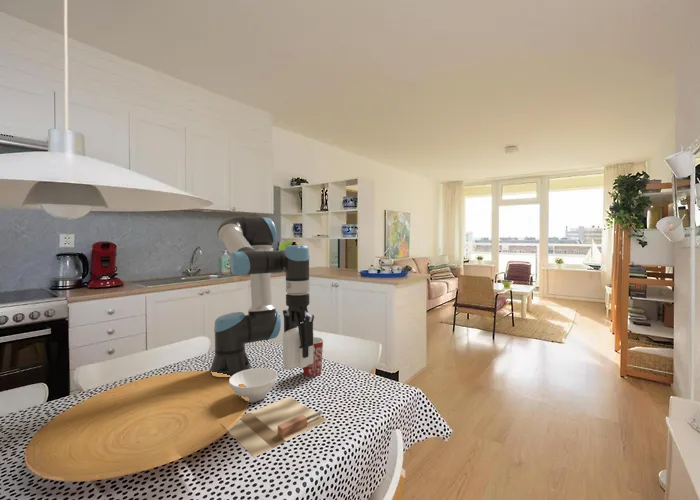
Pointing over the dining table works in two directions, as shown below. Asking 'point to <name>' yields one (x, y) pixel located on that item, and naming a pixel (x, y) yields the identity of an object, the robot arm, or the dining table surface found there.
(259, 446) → the light wooden cutting board
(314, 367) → the mug
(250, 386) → the bowl
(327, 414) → the dining table surface
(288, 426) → the awl
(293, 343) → the photo printer
